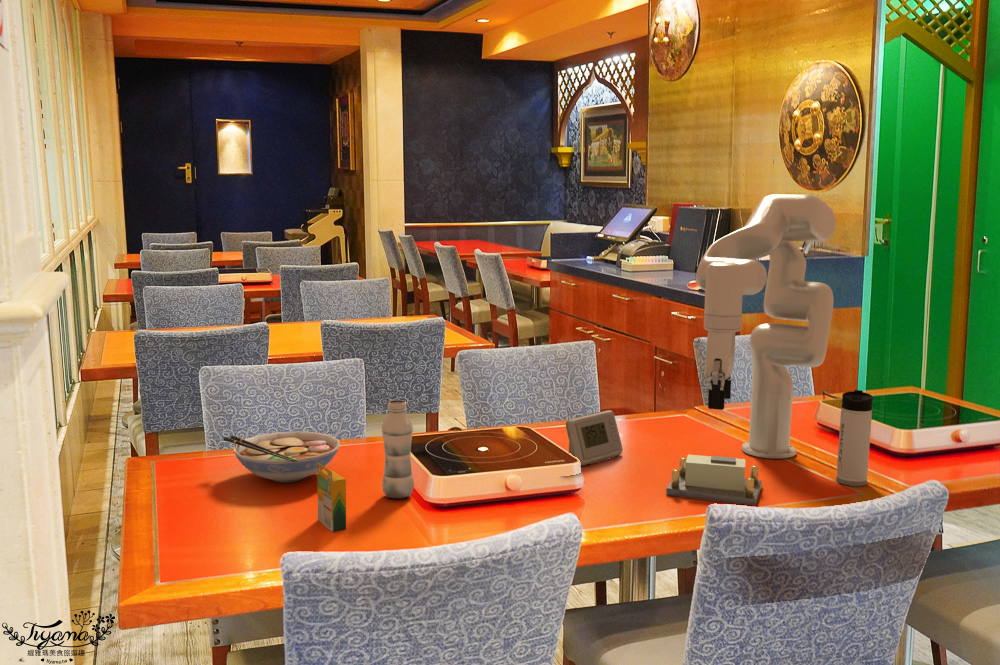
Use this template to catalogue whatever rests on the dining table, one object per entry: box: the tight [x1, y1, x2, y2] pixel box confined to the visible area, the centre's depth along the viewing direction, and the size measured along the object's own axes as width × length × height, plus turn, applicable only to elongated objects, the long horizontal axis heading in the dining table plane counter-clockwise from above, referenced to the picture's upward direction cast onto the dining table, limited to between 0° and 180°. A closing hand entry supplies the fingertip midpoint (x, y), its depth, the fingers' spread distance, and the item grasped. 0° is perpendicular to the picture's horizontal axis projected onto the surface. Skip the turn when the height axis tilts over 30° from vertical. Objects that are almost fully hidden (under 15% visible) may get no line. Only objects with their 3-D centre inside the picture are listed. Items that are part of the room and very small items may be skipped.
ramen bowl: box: [223, 431, 341, 483], centre depth 199 cm, size 25×23×8 cm
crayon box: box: [316, 462, 347, 533], centre depth 171 cm, size 7×3×12 cm, turn 33°
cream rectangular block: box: [685, 454, 746, 491], centre depth 192 cm, size 6×12×6 cm, turn 75°
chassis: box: [665, 457, 763, 507], centre depth 193 cm, size 13×18×5 cm
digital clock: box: [565, 409, 623, 467], centre depth 215 cm, size 16×9×11 cm, turn 122°
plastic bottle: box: [381, 399, 415, 499], centre depth 186 cm, size 6×7×20 cm
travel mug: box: [836, 389, 874, 487], centre depth 198 cm, size 6×7×20 cm
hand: (719, 403), depth 190 cm, fingers open, 9 cm apart
